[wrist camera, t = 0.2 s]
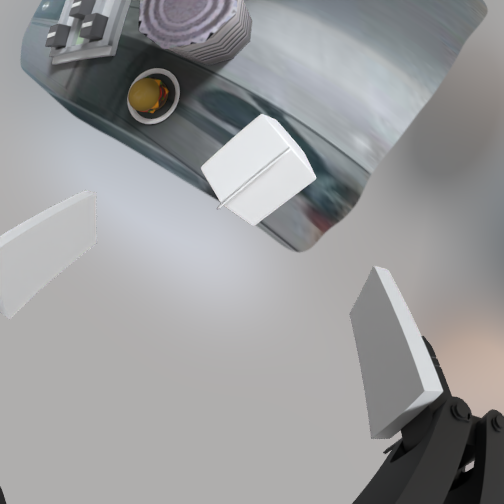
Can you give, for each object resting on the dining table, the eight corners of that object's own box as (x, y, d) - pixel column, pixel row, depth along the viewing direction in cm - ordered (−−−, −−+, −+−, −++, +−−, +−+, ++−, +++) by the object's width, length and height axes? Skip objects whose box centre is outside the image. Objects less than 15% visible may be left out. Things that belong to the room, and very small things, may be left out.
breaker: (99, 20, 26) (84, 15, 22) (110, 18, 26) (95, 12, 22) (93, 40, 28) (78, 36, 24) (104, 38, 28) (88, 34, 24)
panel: (84, -21, 22) (76, -24, 19) (147, -38, 21) (139, -44, 19) (57, 64, 31) (47, 63, 28) (115, 55, 31) (105, 53, 28)
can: (271, 24, 27) (262, -12, 17) (216, 80, 32) (185, 63, 21) (211, -10, 25) (183, -47, 14) (161, 43, 30) (117, 22, 19)
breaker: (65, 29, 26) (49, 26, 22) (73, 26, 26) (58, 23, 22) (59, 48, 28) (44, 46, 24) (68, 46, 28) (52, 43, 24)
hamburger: (112, 90, 34) (92, 89, 29) (170, 45, 30) (154, 37, 25) (143, 148, 38) (124, 152, 33) (206, 106, 34) (193, 103, 29)
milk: (242, 146, 36) (181, 175, 16) (276, 118, 34) (254, 108, 14) (271, 179, 37) (245, 245, 18) (305, 152, 35) (322, 188, 15)
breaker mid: (89, 1, 24) (74, -4, 20) (98, -1, 24) (84, -7, 20) (82, 19, 25) (67, 15, 22) (92, 17, 25) (77, 12, 22)
